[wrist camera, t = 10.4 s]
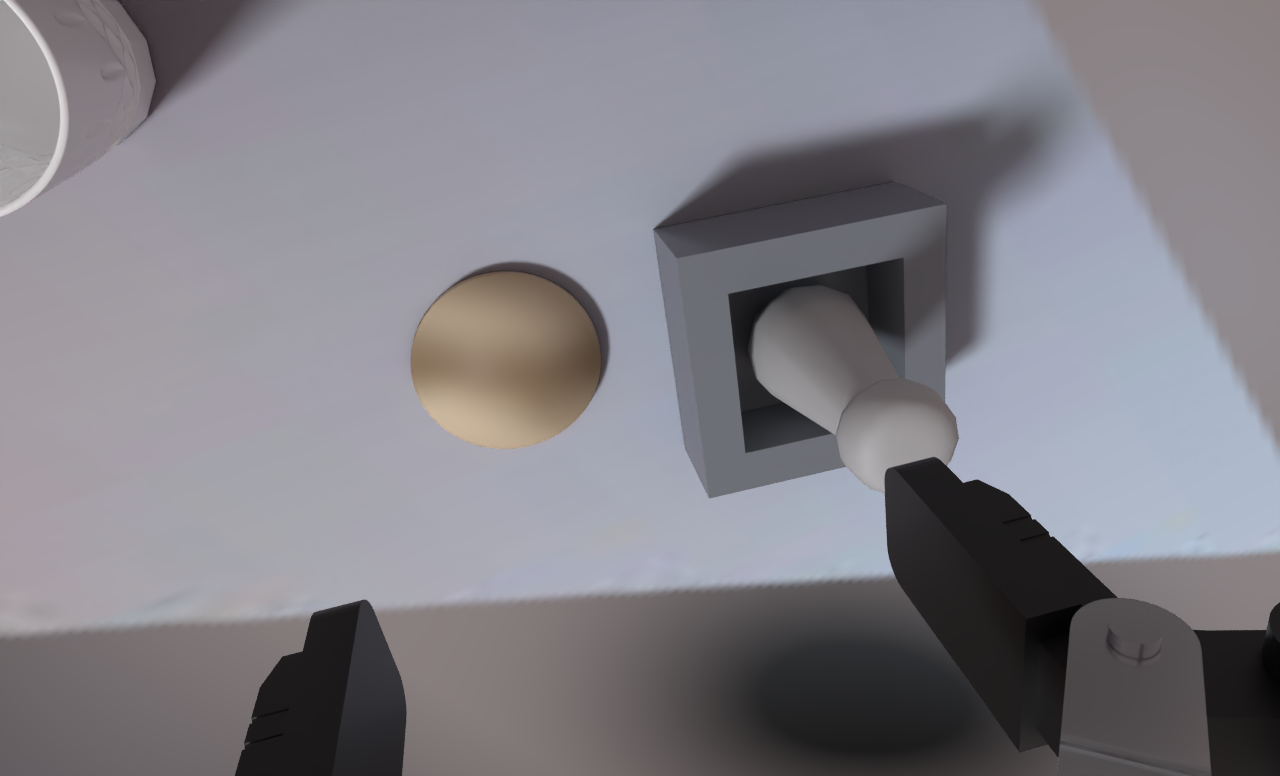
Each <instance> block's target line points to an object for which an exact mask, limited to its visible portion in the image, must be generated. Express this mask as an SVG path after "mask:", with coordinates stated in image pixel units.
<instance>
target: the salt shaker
mask: <svg viewBox="0 0 1280 776" xmlns="http://www.w3.org/2000/svg"><path fill="white" fill-rule="evenodd" d="M747 350H748V354H749V358H750V362H751V366H752V370H753V373H754V376H755V378H756V379H757V380H758V381H759V382H760V383H761V384H762V385H763V386H764V387H765V388H766V389H767V390H768V391H769V392H770V393H771V395H773V396H775V397H776V398H778V399H779V400H781V401H782V402H784V403H786V404H787V405H789V406H790V407H792V408H793V409H795V410H797V411H798V412H800V413H801V414H803V415H804V416H806V417H808V418H809V419H811V420H812V421H814V422H815V423H817V424H819V425H820V426H822V427H823V428H825V429H827V430H828V431H830V432H831V433H833V434H834V435H836V436H837V442H838V447H839V452H840V457H841V460H842V461H843V463H844V464H845V465H846V467H847V468H848V469H849V470H850V471H851V472H852V473H853V474H854V475H855V476H856V477H857V478H858V479H859V480H860V481H861V482H862V483H863V484H864V485H866V486H867V487H869V488H870V489H873V490H876V491H879V492H882V493H885V484H884V478H885V472H886V470H887V469H888V468H891V467H895V466H899V465H903V464H907V463H911V462H914V461H918V460H922V459H926V458H930V457H937V458H938V459H940V460H941V461H942V462H943V463H944V464H945V465H946V466H947V464H948V463H949V462H950V461H951V459H952V456H953V453H954V450H955V448H956V445H957V442H958V439H959V437H958V430H957V423H956V417H955V416H954V414H953V413H952V412H951V410H950V409H949V407H948V406H947V405H946V404H945V402H944V401H943V400H942V399H941V397H940V396H939V395H938V393H937V392H936V391H934V390H933V389H931V388H930V387H928V386H926V385H923V384H920V383H917V382H914V381H911V380H908V379H904V378H900V377H899V375H898V373H897V372H896V370H895V369H894V367H893V365H892V363H891V362H890V360H889V358H888V356H887V354H886V353H885V351H884V349H883V347H882V346H881V344H880V342H879V340H878V338H877V337H876V335H875V333H874V331H873V329H872V328H871V326H870V324H869V322H868V321H867V319H866V317H865V315H864V314H863V312H862V311H861V310H860V308H859V307H858V306H857V305H856V303H855V302H854V301H853V299H852V298H851V297H850V296H849V295H848V294H845V293H842V292H839V291H836V290H834V289H831V288H828V287H825V286H822V285H811V286H801V287H792V288H788V289H784V290H782V291H781V292H780V293H779V294H777V295H776V296H775V297H774V298H773V299H772V300H771V301H770V302H769V303H767V304H766V305H765V306H764V307H763V308H762V309H761V310H760V311H759V312H757V313H756V314H755V315H754V321H753V326H752V331H751V335H750V339H749V344H748V348H747Z"/></svg>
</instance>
